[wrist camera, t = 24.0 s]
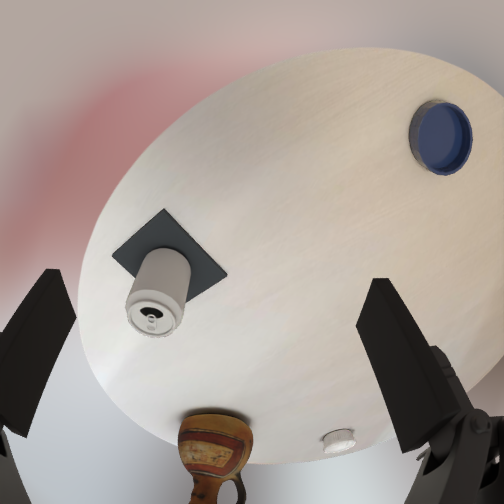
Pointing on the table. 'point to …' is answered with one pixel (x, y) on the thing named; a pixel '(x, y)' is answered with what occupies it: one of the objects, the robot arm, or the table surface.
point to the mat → (175, 238)
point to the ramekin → (338, 441)
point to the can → (159, 293)
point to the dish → (440, 137)
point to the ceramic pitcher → (214, 454)
